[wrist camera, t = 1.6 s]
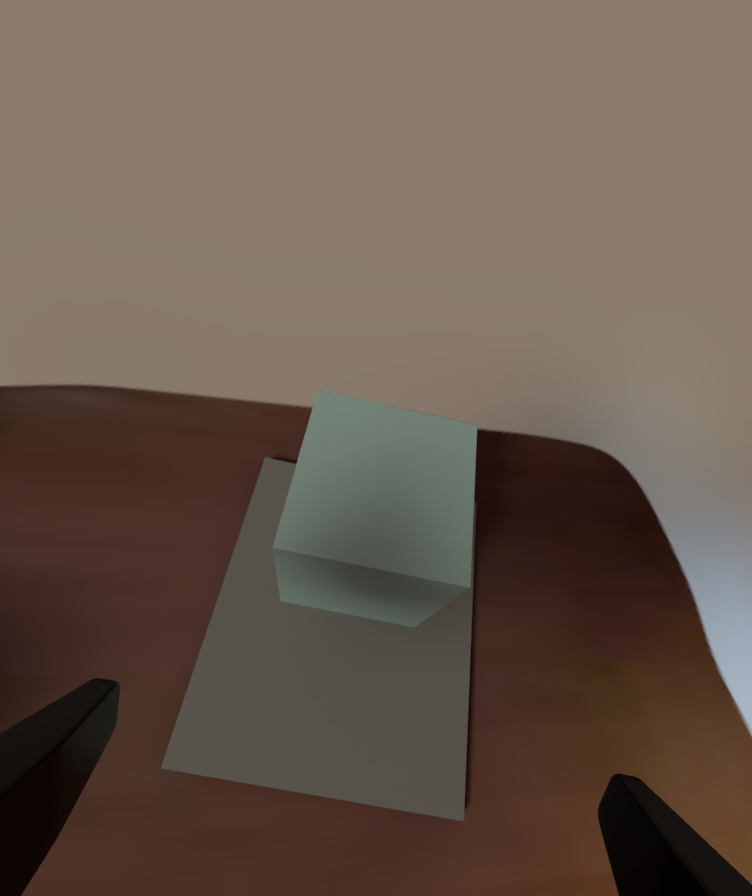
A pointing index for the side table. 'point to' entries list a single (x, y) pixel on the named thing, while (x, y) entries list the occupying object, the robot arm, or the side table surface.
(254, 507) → the mat
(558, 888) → the side table surface
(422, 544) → the block
